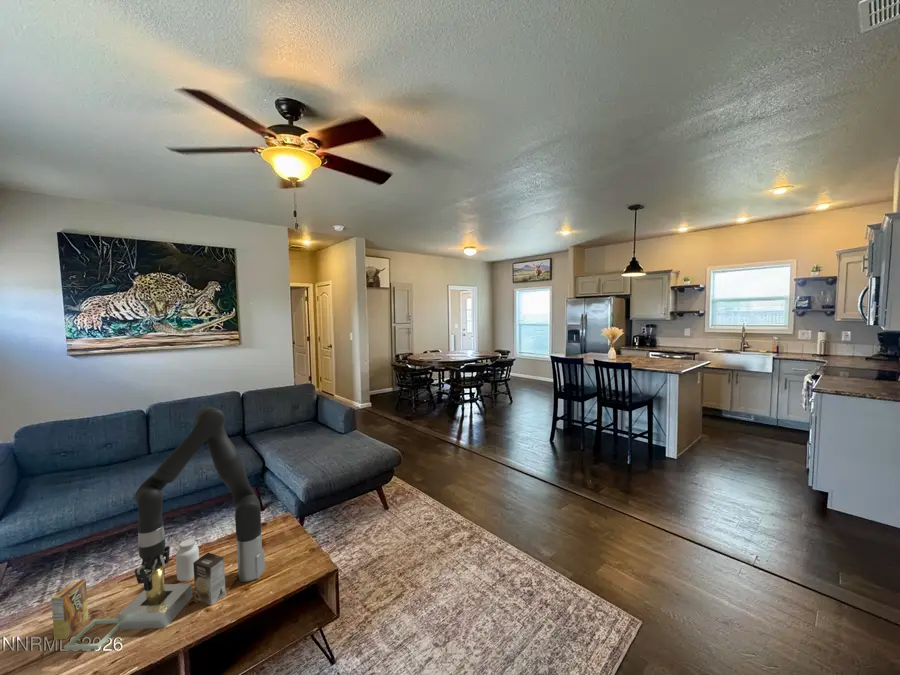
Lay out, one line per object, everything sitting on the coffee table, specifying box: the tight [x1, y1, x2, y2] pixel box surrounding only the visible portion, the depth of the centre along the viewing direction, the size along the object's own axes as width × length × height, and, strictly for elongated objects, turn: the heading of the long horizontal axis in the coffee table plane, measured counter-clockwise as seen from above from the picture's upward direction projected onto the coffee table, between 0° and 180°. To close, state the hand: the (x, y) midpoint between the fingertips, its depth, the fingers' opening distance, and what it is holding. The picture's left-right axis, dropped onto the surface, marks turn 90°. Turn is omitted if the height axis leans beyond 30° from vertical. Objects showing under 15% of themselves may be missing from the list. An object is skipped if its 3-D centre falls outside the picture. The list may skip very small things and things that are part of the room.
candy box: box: [50, 578, 89, 641], centre depth 130 cm, size 9×4×15 cm, turn 6°
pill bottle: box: [175, 538, 200, 582], centre depth 156 cm, size 8×8×15 cm
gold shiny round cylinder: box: [146, 565, 165, 606], centre depth 136 cm, size 5×5×13 cm
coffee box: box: [193, 552, 226, 606], centre depth 144 cm, size 9×6×16 cm
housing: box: [117, 583, 193, 630], centre depth 137 cm, size 16×14×6 cm
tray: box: [63, 617, 120, 651], centre depth 127 cm, size 11×11×2 cm
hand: (154, 583), depth 136 cm, fingers closed on gold shiny round cylinder, 5 cm apart
